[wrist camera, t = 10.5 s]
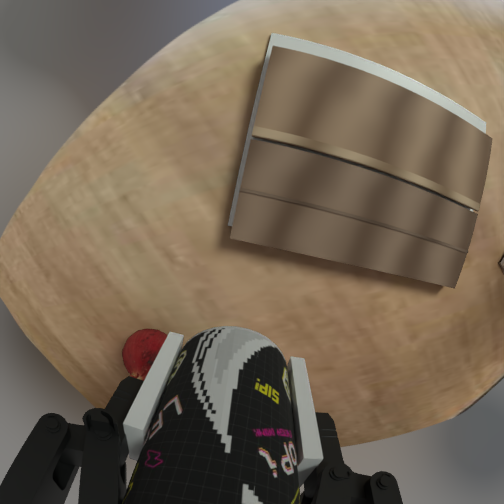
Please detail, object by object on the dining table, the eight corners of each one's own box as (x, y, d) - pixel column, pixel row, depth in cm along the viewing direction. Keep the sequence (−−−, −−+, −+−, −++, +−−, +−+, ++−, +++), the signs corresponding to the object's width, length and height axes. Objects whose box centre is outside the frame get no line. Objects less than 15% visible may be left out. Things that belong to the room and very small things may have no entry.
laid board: (470, 211, 25) (478, 214, 24) (448, 283, 28) (455, 288, 26) (251, 140, 25) (250, 138, 23) (231, 234, 27) (229, 238, 25)
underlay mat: (484, 122, 23) (486, 122, 22) (451, 277, 28) (453, 278, 28) (271, 34, 22) (271, 32, 21) (228, 224, 27) (227, 225, 27)
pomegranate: (159, 307, 30) (132, 347, 22) (193, 343, 31) (177, 390, 23) (128, 330, 31) (99, 370, 23) (160, 363, 32) (140, 407, 24)
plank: (485, 138, 22) (492, 138, 21) (471, 208, 25) (478, 211, 24) (272, 50, 21) (272, 45, 20) (252, 136, 24) (251, 135, 23)
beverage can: (206, 299, 14) (113, 555, 2) (306, 345, 14) (350, 576, 3) (168, 373, 15) (98, 556, 4) (254, 409, 16) (247, 590, 4)
